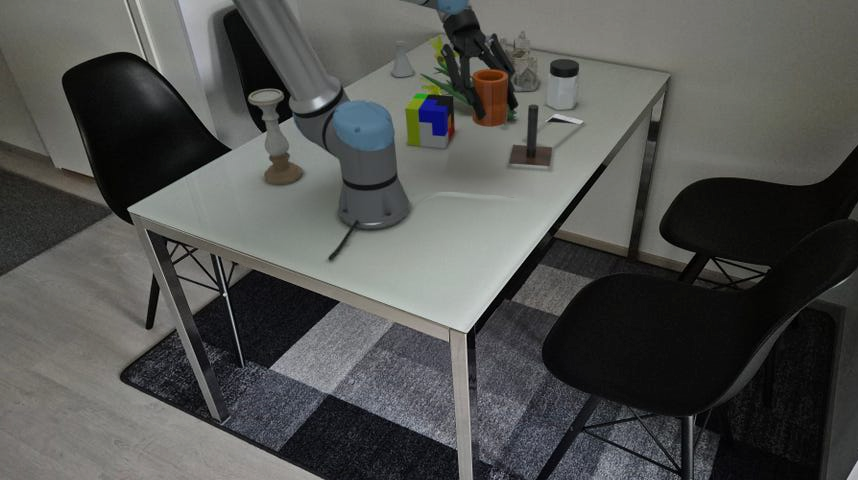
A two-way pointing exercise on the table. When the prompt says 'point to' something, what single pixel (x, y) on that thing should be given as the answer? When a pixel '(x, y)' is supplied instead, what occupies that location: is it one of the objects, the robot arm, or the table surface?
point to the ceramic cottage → (522, 63)
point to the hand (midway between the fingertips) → (498, 112)
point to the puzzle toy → (430, 120)
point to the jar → (563, 84)
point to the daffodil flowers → (448, 87)
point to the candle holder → (275, 139)
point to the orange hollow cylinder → (491, 96)
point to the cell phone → (564, 119)
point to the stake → (531, 144)
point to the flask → (401, 62)
